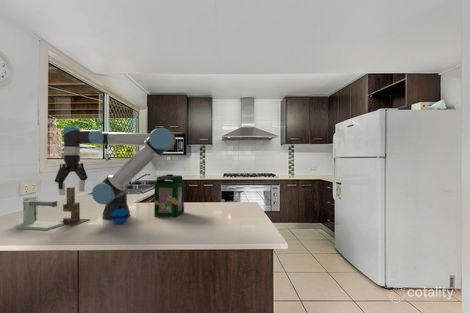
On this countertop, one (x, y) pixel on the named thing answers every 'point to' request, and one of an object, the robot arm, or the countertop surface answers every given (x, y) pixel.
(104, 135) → the robot arm
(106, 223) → the countertop surface
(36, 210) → the syrup box
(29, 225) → the stand
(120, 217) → the ornament
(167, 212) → the container
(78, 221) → the mat
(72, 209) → the brown long angular piece
